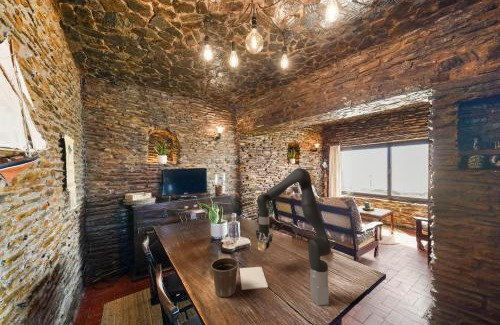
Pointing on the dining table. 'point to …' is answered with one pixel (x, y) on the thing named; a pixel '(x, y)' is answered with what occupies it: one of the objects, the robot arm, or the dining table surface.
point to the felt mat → (252, 278)
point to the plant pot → (224, 276)
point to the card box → (263, 245)
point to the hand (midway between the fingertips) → (264, 246)
